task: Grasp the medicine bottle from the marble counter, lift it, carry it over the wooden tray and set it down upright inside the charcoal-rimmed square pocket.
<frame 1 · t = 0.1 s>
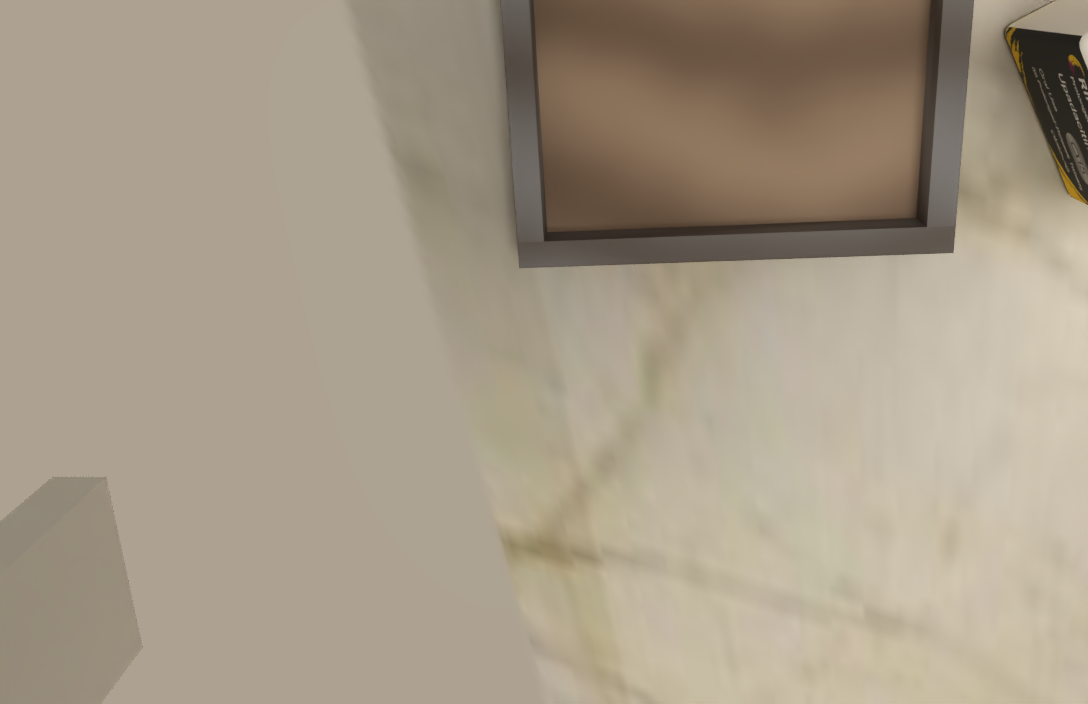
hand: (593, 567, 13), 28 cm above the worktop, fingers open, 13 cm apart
wooden tray: (726, 33, 37), on the worktop
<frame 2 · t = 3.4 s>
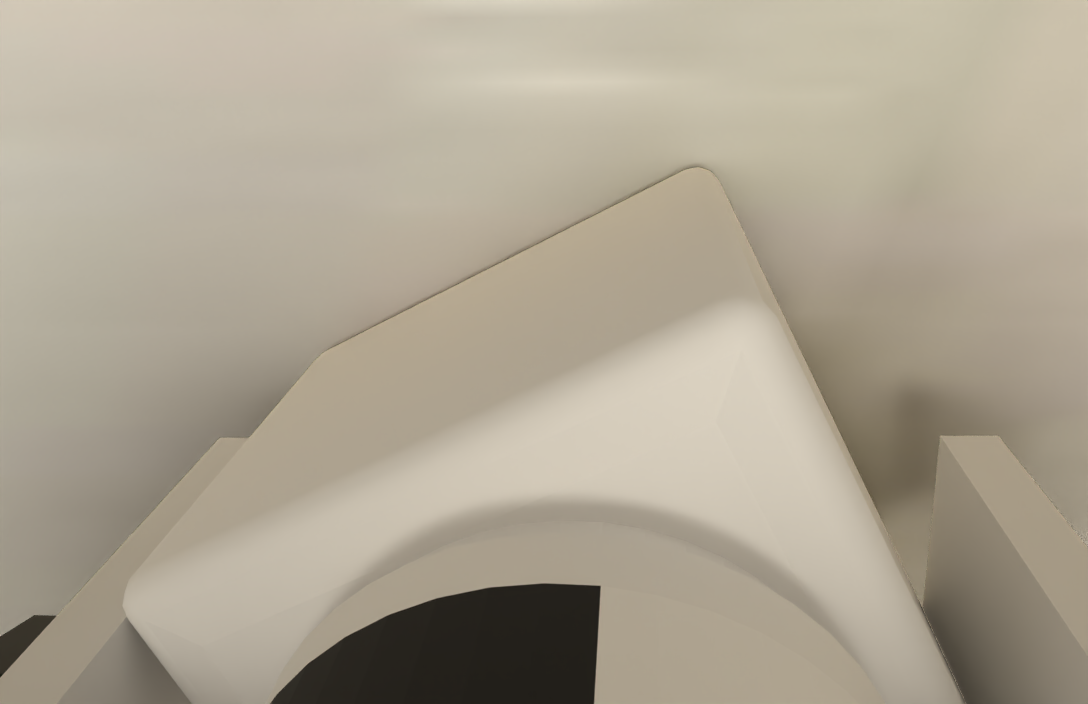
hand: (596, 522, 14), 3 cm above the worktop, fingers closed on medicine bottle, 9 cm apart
medicine bottle: (602, 439, 17), on the worktop, touching gripper
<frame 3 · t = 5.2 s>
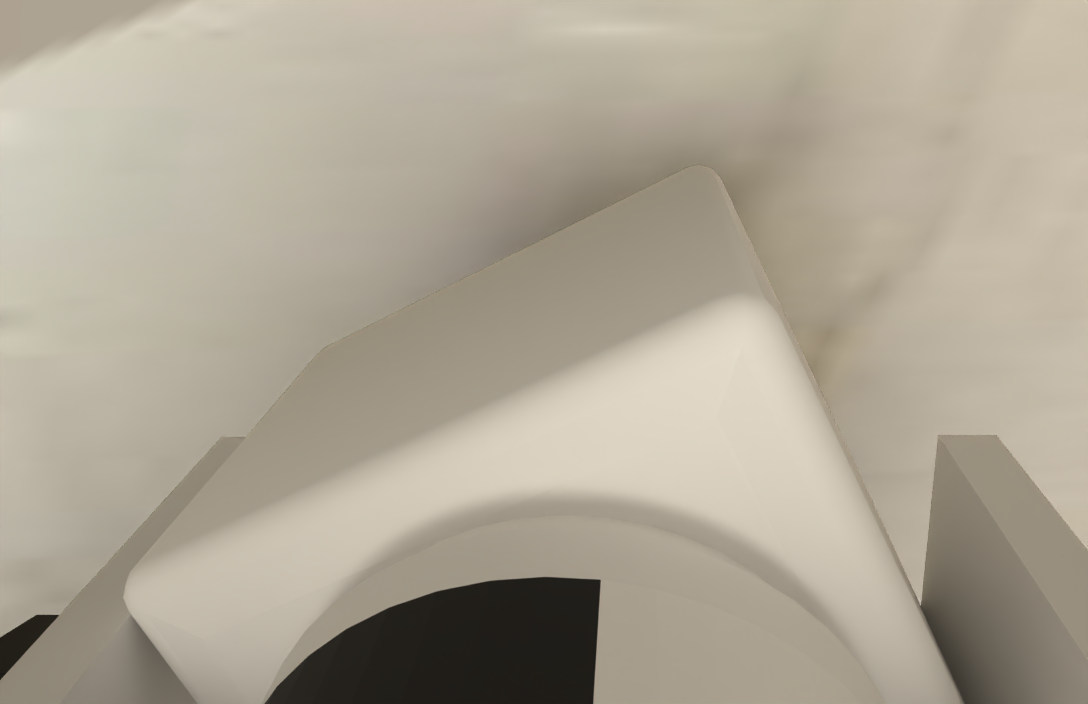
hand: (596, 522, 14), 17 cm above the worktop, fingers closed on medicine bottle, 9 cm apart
medicine bottle: (602, 436, 17), point 14 cm above the worktop, touching gripper
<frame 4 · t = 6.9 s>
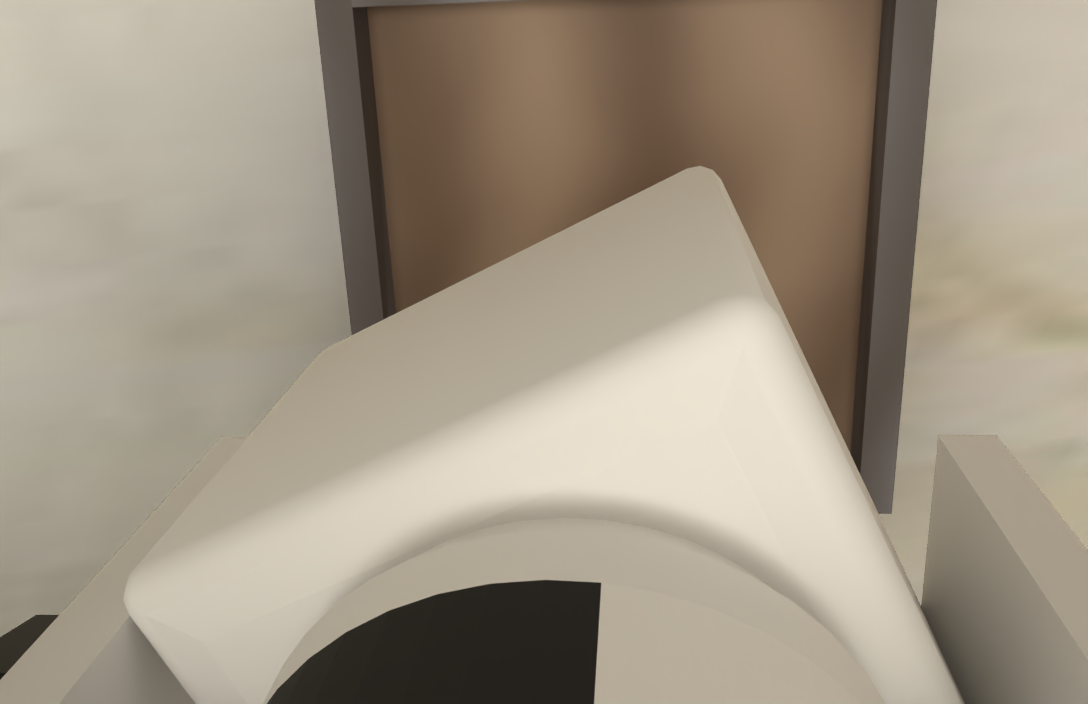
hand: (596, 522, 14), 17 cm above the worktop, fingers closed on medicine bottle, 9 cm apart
medicine bottle: (602, 437, 17), point 15 cm above the worktop, touching gripper
wooden tray: (622, 238, 31), on the worktop
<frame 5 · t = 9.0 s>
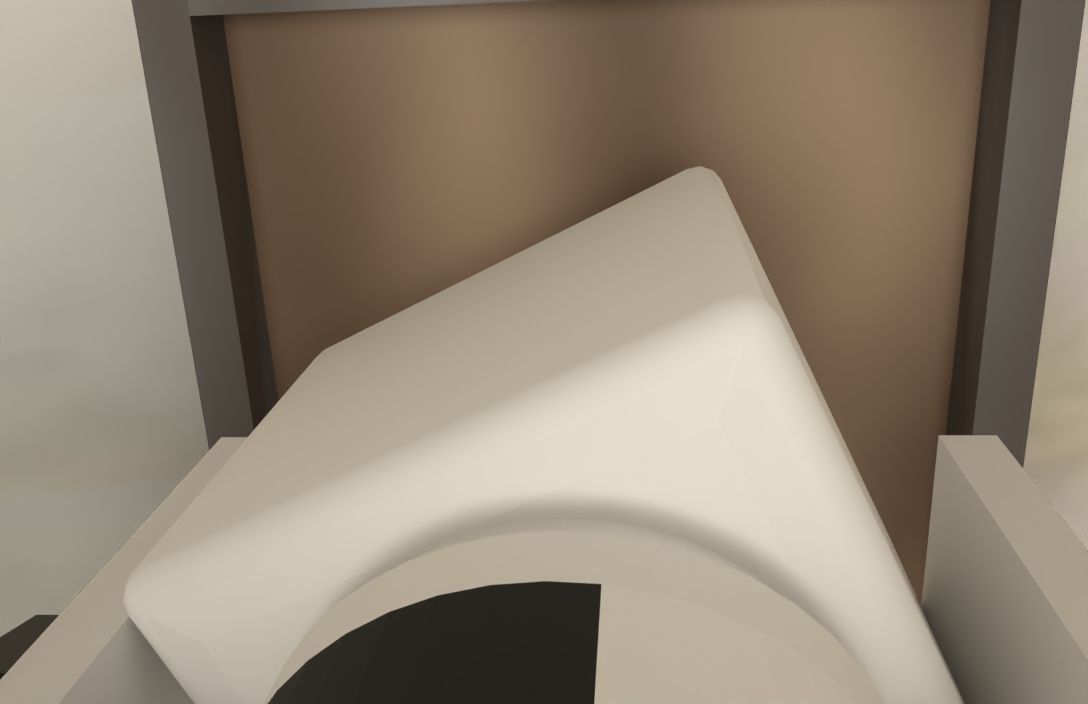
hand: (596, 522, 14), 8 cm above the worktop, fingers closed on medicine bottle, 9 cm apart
medicine bottle: (602, 438, 17), point 5 cm above the worktop, touching gripper
wooden tray: (604, 341, 22), on the worktop
when the fingers open (5 cm above the worktop, at t = 10.7 s): medicine bottle drops 2 cm, resting on wooden tray.
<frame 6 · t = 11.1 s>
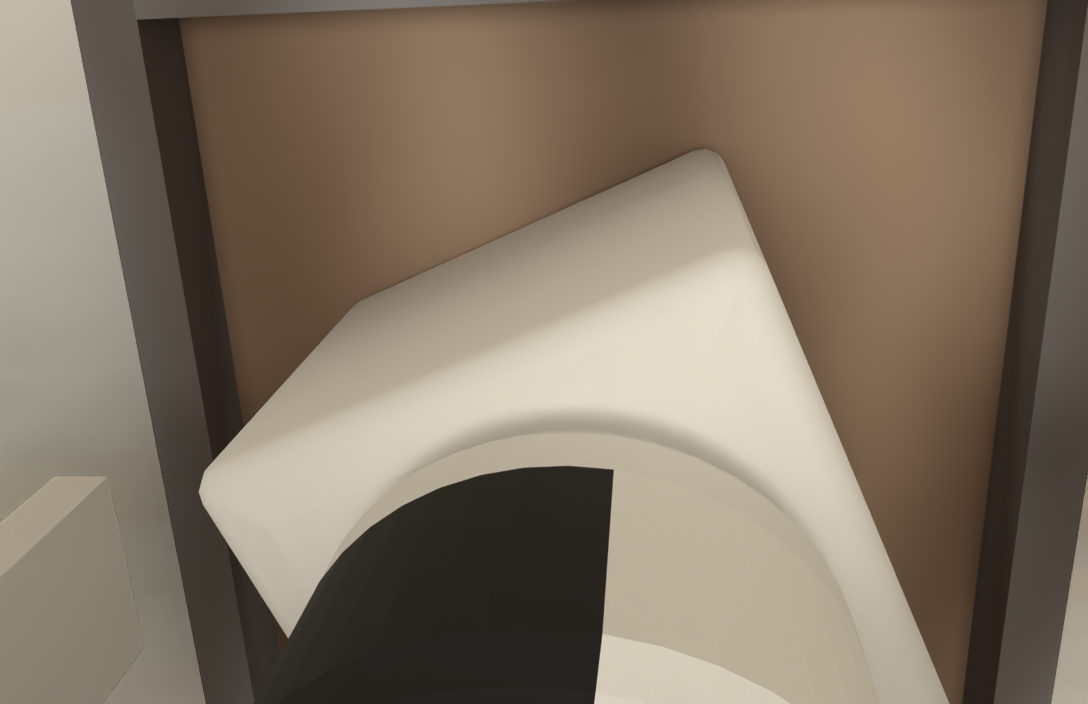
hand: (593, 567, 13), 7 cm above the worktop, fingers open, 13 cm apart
medicine bottle: (606, 393, 19), point 1 cm above the worktop, touching wooden tray
wooden tray: (607, 379, 19), on the worktop
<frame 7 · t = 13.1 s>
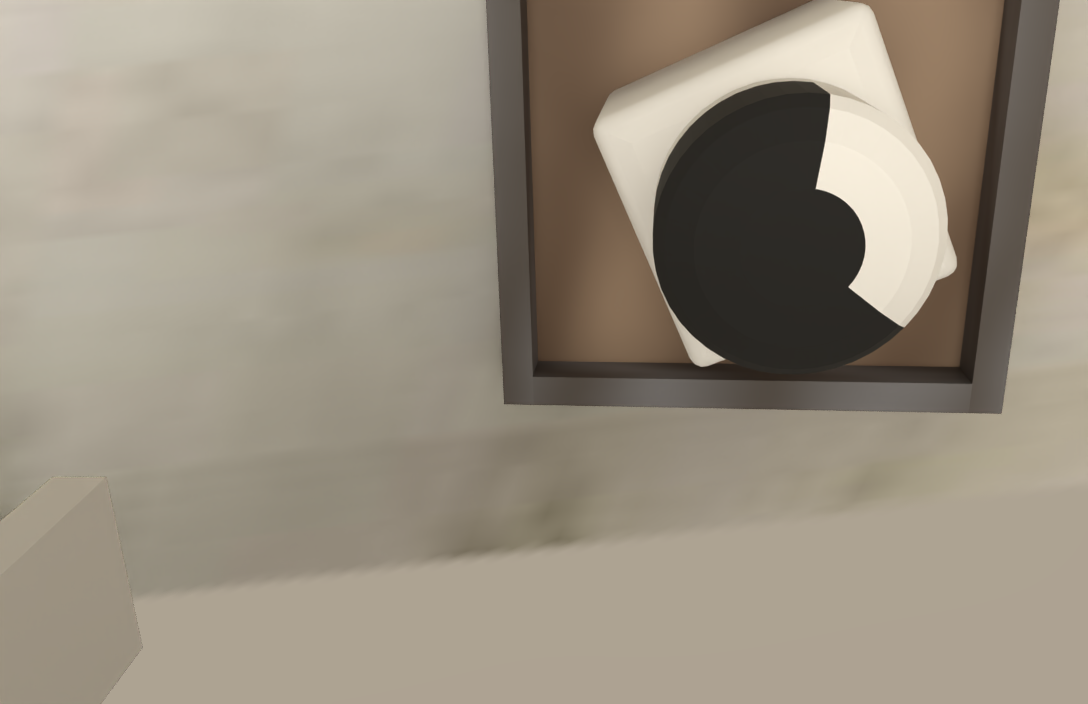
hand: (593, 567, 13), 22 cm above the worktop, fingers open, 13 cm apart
medicine bottle: (752, 152, 32), point 1 cm above the worktop, touching wooden tray
wooden tray: (750, 150, 32), on the worktop
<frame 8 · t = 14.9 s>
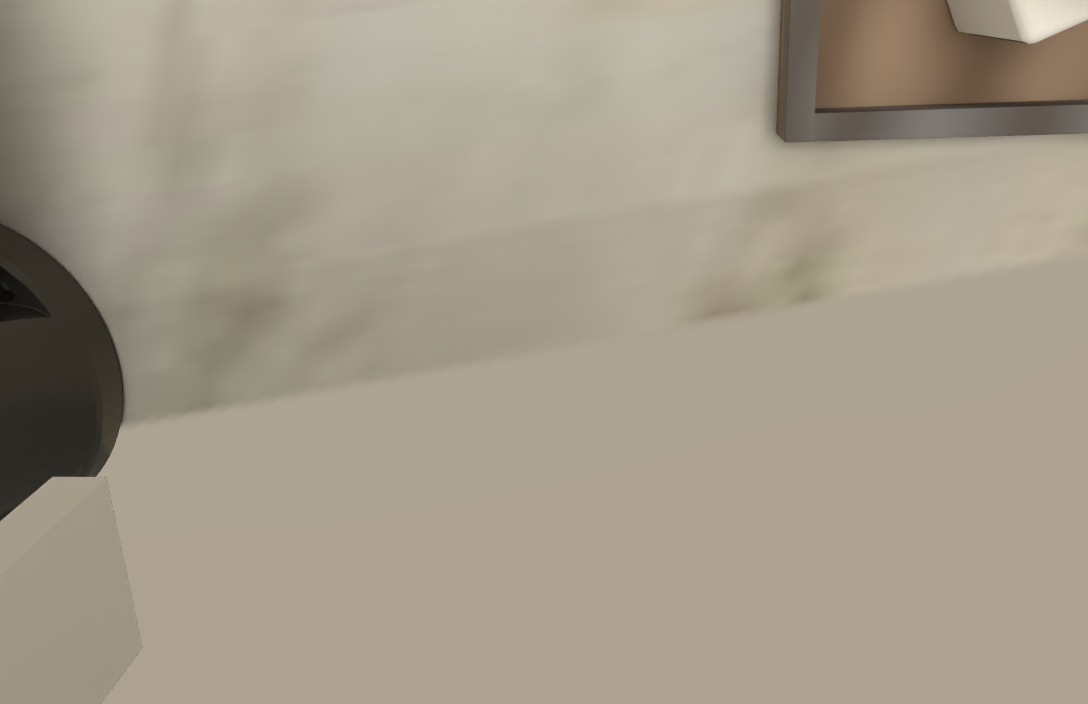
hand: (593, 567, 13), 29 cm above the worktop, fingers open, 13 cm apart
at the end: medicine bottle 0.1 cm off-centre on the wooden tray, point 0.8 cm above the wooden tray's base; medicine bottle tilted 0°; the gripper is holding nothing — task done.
